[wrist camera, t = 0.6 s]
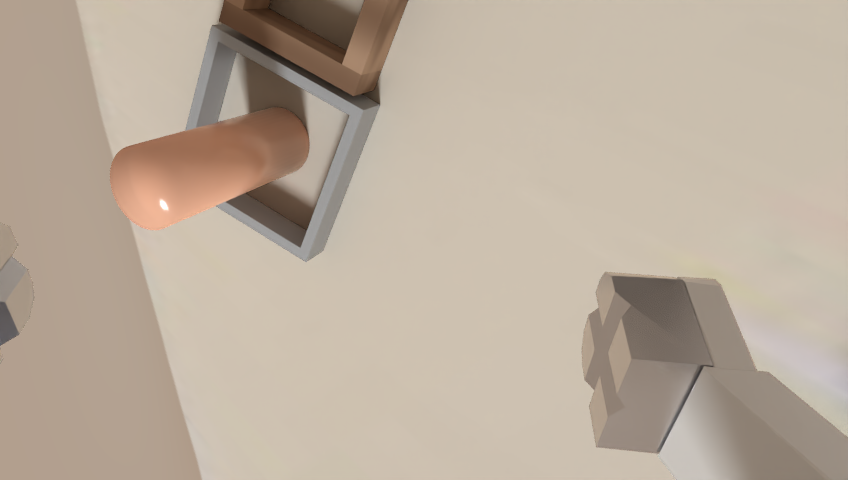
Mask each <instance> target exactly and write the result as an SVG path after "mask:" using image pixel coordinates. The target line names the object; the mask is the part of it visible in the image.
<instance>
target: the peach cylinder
mask: <svg viewBox="0 0 848 480" xmlns="http://www.w3.org/2000/svg"><path fill="white" fill-rule="evenodd" d="M308 153H309V138H308V134H307V131H306V129H305V127H304V125H303V123H302V122H301V121H300V119H299V118H298V117H297V116H296V115H295V114H293V113H292V112H290V111H289V110H287V109H284V108H279V107H273V108H268V109H264V110H261V111H257V112H253V113H250V114H246V115H242V116H239V117H235V118H231V119H227V120H224V121H220V122H216V123H213V124H209V125H205V126H201V127H198V128H194V129H190V130H187V131H183V132H179V133H176V134H172V135H168V136H164V137H161V138H157V139H153V140H150V141H146V142H142V143H138V144H135V145H131V146H128V147H125V148H123V149H122V150H120V151H119V152H118V153H117V154H116V156H115V158H114V159H113V162H112V165H111V170H110V183H111V188H112V192H113V195H114V197H115V200H116V202H117V204H118V205H119V207H120V209H121V210H122V211H123V213H124V214H125V215H126V216H127V217H128V218H129V219H130V220H131V221H132V222H134V223H135V224H137V225H138V226H140V227H142V228H145V229H149V230H160V229H163V228H166V227H168V226H170V225H172V224H175V223H177V222H179V221H182V220H184V219H186V218H189V217H191V216H193V215H196V214H198V213H200V212H202V211H205V210H207V209H209V208H212V207H214V206H216V205H219V204H221V203H223V202H226V201H228V200H230V199H233V198H235V197H237V196H239V195H242V194H244V193H246V192H249V191H251V190H253V189H256V188H258V187H260V186H263V185H265V184H267V183H269V182H272V181H274V180H276V179H279V178H281V177H283V176H286V175H288V174H290V173H293V172H295V171H297V170H298V169H300V168H301V167H302V166H303V164H304V163H305V161H306V159H307V157H308Z"/></svg>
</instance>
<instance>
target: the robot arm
mask: <svg viewBox="0 0 848 480" xmlns="http://www.w3.org/2000/svg"><path fill="white" fill-rule="evenodd" d="M17 246H18V243H17V241H16V239H15V237H14V235H13V233H12V230H11V228H10V227H9V226H8V225H5V224H2V223H0V346H1V345H2V344H4V343H6V342H7V341H9V340H11V339H12V338H14V337H16V336H17V335H19V334H20V332H21V331H22V329H23V328H24V326H25V324H26V323H27V321H28V320H29V317H30V313H31V309H32V305H33V301H34V290H33V282H32V279H31V276H30V274H29V271H28V269H27V268H26V267H24V266H23V265H22V264H21V263H19V262H18V261H17V260H16V259H15V258H13V257H12V255H13V253H14V252H15V250H16V248H17ZM596 296H597V301H598V306H599V308H598V309H596V310H595V311H593V312H592V313H591V314H589V315H588V318H587V322H586V326H585V329H584V334H583V343H582V366H583V373H584V379H585V381H586V382H587V383H588V384H589V385H590V386H591V387H592V388H593V389H594V393H593V396H592V399H591V402H590V405H589V409H590V415H591V420H592V426H593V431H594V437H595V443H596V447H600V448H609V449H619V450H628V451H638V452H647V453H657V454H659V455H658V457H659V459H660V460H661V461H662V463H663V464H664V465H665V466H666V468H667V469H668V470H669V471H670V473H671V474H672V475H673V477H674V478H675V479H676V480H848V437H847V436H846V435H844V434H843V433H842V432H841V431H839V430H838V429H837V428H836V427H835V426H833V425H832V424H831V423H830V422H829V421H827V420H826V419H825V418H824V417H823V416H821V415H820V414H819V413H818V412H816V411H815V410H814V409H813V408H812V407H810V406H809V405H808V404H807V403H806V402H804V401H803V400H802V399H801V398H799V397H798V396H797V395H796V394H795V393H793V392H792V391H791V390H790V389H789V388H787V387H786V386H785V385H784V384H783V383H781V382H780V381H779V380H778V379H776V378H775V377H774V376H773V375H772V374H770V373H769V372H763V371H757V369H756V366H755V364H754V362H753V359H752V357H751V355H750V352H749V350H748V348H747V345H746V343H745V340H744V338H743V336H742V333H741V331H740V329H739V326H738V324H737V322H736V319H735V317H734V315H733V312H732V310H731V307H730V305H729V303H728V300H727V298H726V296H725V293H724V291H723V289H722V286H721V284H720V283H719V282H717V281H716V280H715V279H705V278H690V277H677V278H675V277H667V276H653V275H640V274H627V273H613V272H605V273H604V274H603V276H602V277H601V279H600V281H599V284H598V287H597V290H596ZM2 360H3V357H2V353H1V349H0V363H1V362H2Z"/></svg>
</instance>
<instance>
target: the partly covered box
mask: <svg viewBox="0 0 848 480" xmlns="http://www.w3.org/2000/svg"><path fill="white" fill-rule="evenodd" d="M407 2H408V0H364V3H363V6H362V9H361V12H360V15H359V17H358V20H357V23H356V26H355V29H354V32H353V35H352V37H351V40H350V43H349V46H348V49H347V51H346V50H344V49H342V48H340V47H338V46H336V45H335V44H333V43H331V42H329V41H327V40H325V39H324V38H322V37H320V36H318V35H316V34H314V33H313V32H311V31H309V30H307V29H305V28H303V27H302V26H300V25H298V24H296V23H294V22H292V21H291V20H289V19H287V18H285V17H283V16H281V15H280V14H278V13H276V12H274V11H272V10H270V9H269V8H268V7H269V4H270V0H224V3H223V7H222V11H221V15H220V19H219V21H220V22H222V23H223V24H225V25H227V26H229V27H231V28H232V29H234V30H236V31H238V32H239V33H241V34H243V35H245V36H247V37H248V38H250V39H252V40H254V41H256V42H257V43H259V44H261V45H263V46H265V47H266V48H268V49H270V50H272V51H274V52H275V53H277V54H279V55H281V56H283V57H284V58H286V59H288V60H290V61H291V62H293V63H295V64H297V65H299V66H300V67H302V68H304V69H306V70H308V71H309V72H311V73H313V74H315V75H317V76H318V77H320V78H322V79H324V80H326V81H327V82H329V83H331V84H333V85H334V86H336V87H338V88H340V89H342V90H343V91H345V92H347V93H349V94H351V95H352V96H356V95H359V94H363V93H366V92H369V91H373V90H374V88H375V86H376V83H377V81H378V78H379V75H380V73H381V70H382V67H383V65H384V62H385V60H386V57H387V54H388V52H389V49H390V46H391V44H392V41H393V39H394V36H395V33H396V31H397V28H398V26H399V23H400V20H401V18H402V15H403V12H404V10H405V7H406V5H407Z"/></svg>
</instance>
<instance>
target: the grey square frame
mask: <svg viewBox="0 0 848 480" xmlns="http://www.w3.org/2000/svg"><path fill="white" fill-rule="evenodd" d="M236 52H238V53H240V54H242V55H243V56H245V57H247V58H249V59H251V60H252V61H254V62H256V63H258V64H259V65H261V66H263V67H265V68H266V69H268V70H270V71H272V72H274V73H275V74H277V75H279V76H281V77H282V78H284V79H286V80H288V81H289V82H291V83H293V84H295V85H297V86H298V87H300V88H302V89H304V90H305V91H307V92H309V93H311V94H312V95H314V96H316V97H318V98H320V99H321V100H323V101H325V102H327V103H328V104H330V105H332V106H334V107H336V108H337V109H339V110H341V111H343V112H344V113H346V114H348V115H350V116H349V118H348V121H347V124H346V127H345V129H344V132H343V135H342V137H341V140H340V143H339V145H338V148H337V151H336V153H335V156H334V159H333V162H332V164H331V167H330V170H329V172H328V175H327V178H326V180H325V183H324V186H323V189H322V191H321V194H320V197H319V199H318V202H317V205H316V207H315V210H314V213H313V216H312V218H311V221H310V224H309V226H308V229H307V231H306V230H305V229H303V228H301V227H300V226H298V225H297V224H295V223H293V222H292V221H290V220H288V219H287V218H285V217H283V216H282V215H280V214H278V213H277V212H275V211H274V210H272V209H270V208H269V207H267V206H265V205H264V204H262V203H260V202H259V201H257V200H255V199H254V198H252V197H251V196H249V195H247V194H246V193H244V194H242V195H239V196H237V197H235V198H233V199H230V200H228V201H226V202H223V203H221V204H219V205H216V207H218V208H219V209H221V210H223V211H224V212H226V213H227V214H229V215H231V216H232V217H234V218H236V219H237V220H239V221H240V222H242V223H244V224H245V225H247V226H248V227H250V228H252V229H253V230H255V231H257V232H258V233H260V234H261V235H263V236H265V237H266V238H268V239H269V240H271V241H273V242H274V243H276V244H278V245H279V246H281V247H282V248H284V249H286V250H287V251H289V252H290V253H292V254H294V255H295V256H297V257H299V258H300V259H302V260H303V261H305V262H307V261H309V260H310V259H312V258H313V257H315V256H316V255H318V254H319V253H321V252H322V251H323V250H324V247H325V244H326V242H327V239H328V237H329V234H330V232H331V229H332V227H333V224H334V221H335V219H336V216H337V214H338V211H339V209H340V206H341V203H342V201H343V198H344V196H345V193H346V191H347V188H348V186H349V183H350V180H351V178H352V175H353V173H354V170H355V168H356V165H357V162H358V160H359V157H360V155H361V152H362V150H363V147H364V145H365V142H366V139H367V137H368V134H369V132H370V129H371V127H372V124H373V121H374V119H375V116H376V114H377V111H378V109H379V106H380V104H378V103H376V102H374V101H373V100H371V99H369V98H367V97H365V96H364V95H362V94H359V95H356V96H352V95H351V94H349V93H347V92H345V91H343V90H342V89H340V88H338V87H336V86H334V85H333V84H331V83H329V82H327V81H326V80H324V79H322V78H320V77H318V76H317V75H315V74H313V73H311V72H309V71H308V70H306V69H304V68H302V67H300V66H299V65H297V64H295V63H293V62H291V61H290V60H288V59H286V58H284V57H283V56H281V55H279V54H277V53H275V52H274V51H272V50H270V49H268V48H266V47H265V46H263V45H261V44H259V43H257V42H256V41H254V40H252V39H250V38H248V37H247V36H245V35H243V34H241V33H239V32H238V31H236V30H234V29H232V28H231V27H229V26H227V25H225V24H221V25H212V27H211V31H210V35H209V39H208V43H207V46H206V50H205V54H204V58H203V62H202V66H201V70H200V74H199V78H198V82H197V86H196V90H195V94H194V98H193V102H192V106H191V110H190V114H189V118H188V122H187V126H186V130H185V131H187V130H190V129H194V128H198V127H201V126H205V125H209V124H213V123H216V122H217V121H218V117H219V114H220V110H221V106H222V103H223V99H224V95H225V92H226V88H227V85H228V81H229V77H230V74H231V70H232V66H233V63H234V59H235V55H236Z"/></svg>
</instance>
